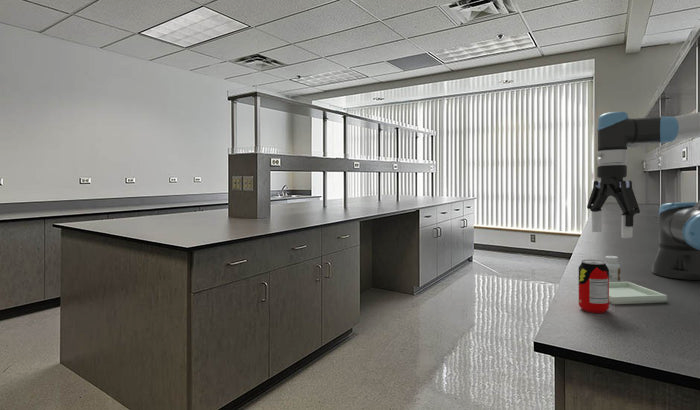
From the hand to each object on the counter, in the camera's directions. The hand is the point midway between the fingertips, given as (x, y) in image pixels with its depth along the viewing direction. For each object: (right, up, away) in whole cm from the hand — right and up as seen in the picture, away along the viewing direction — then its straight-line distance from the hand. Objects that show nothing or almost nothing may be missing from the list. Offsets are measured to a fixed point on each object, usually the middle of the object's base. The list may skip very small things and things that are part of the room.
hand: (610, 234), depth 122 cm
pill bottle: (+1, -15, +1) cm, 15 cm away
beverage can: (-20, -17, -24) cm, 36 cm away
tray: (-6, -16, -13) cm, 21 cm away
